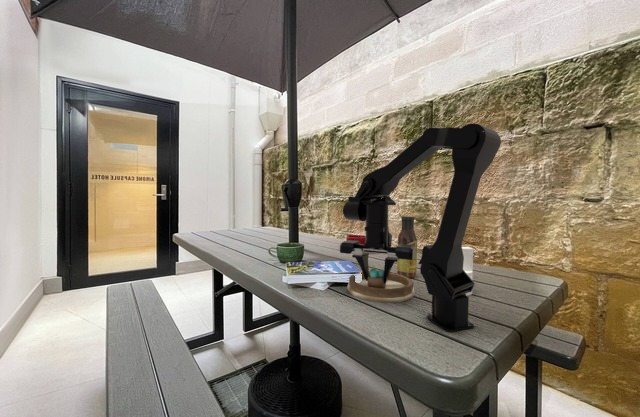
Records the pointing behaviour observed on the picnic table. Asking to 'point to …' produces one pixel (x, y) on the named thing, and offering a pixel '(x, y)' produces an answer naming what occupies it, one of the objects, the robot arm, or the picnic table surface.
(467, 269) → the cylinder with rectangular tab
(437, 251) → the robot arm
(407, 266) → the sauce bottle
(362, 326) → the picnic table surface
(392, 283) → the ring tray
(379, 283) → the toy potted plant
